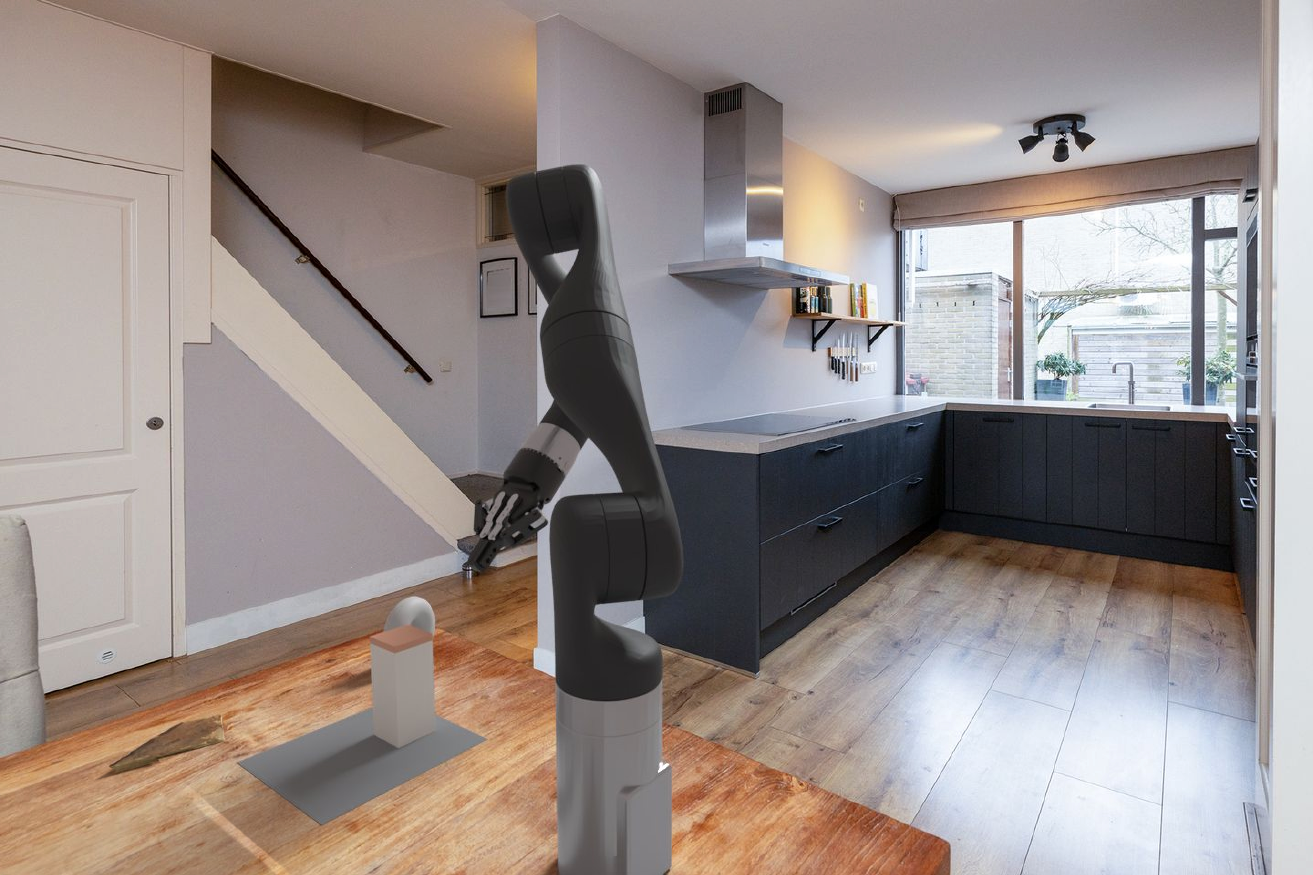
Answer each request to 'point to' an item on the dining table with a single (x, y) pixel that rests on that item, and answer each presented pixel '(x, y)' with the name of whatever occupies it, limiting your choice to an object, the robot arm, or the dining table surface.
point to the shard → (174, 742)
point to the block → (402, 684)
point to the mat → (352, 763)
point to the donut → (411, 615)
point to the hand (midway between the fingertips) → (474, 568)
